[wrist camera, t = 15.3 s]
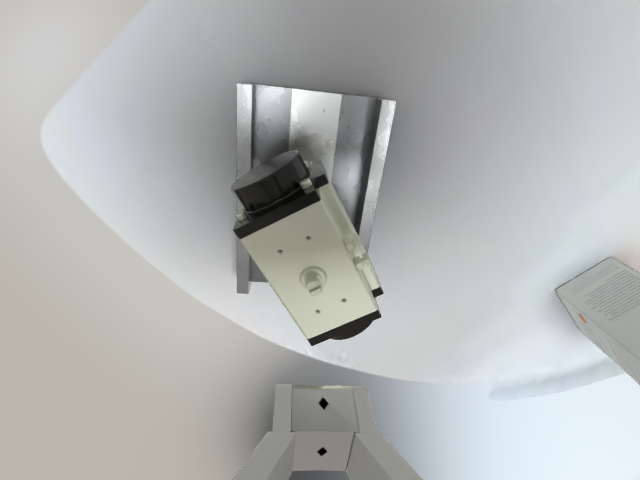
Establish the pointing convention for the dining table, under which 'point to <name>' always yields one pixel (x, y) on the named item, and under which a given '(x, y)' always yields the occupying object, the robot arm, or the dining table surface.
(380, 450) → the robot arm
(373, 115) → the rail plate
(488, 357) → the dining table surface
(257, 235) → the pneumatic valve
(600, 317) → the small box
